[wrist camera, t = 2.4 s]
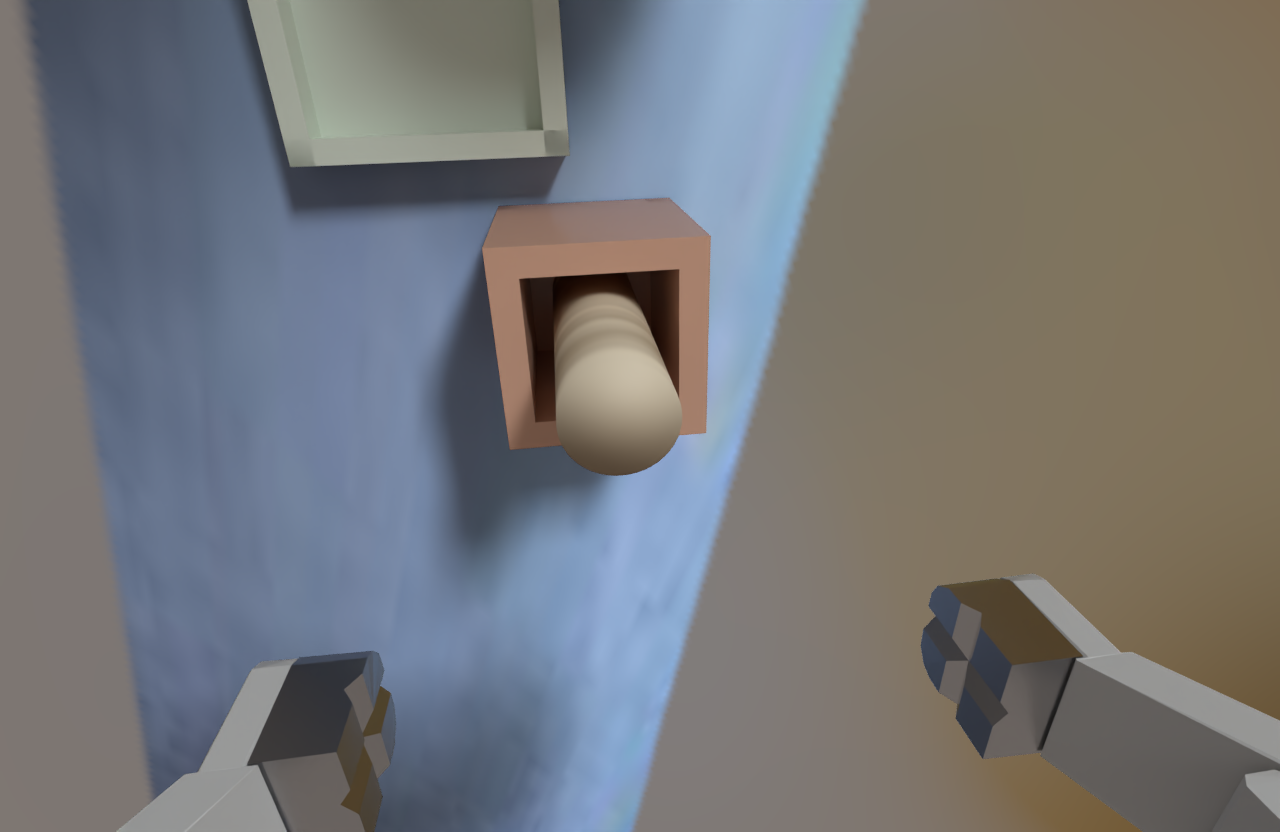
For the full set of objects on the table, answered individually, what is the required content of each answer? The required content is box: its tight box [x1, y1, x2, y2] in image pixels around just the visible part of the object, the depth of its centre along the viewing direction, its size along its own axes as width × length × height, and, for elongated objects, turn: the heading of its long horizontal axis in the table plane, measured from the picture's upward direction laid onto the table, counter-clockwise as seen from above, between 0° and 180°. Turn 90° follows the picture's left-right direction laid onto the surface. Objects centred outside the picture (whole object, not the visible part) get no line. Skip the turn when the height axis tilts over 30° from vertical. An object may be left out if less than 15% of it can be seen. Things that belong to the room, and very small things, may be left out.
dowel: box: [553, 272, 682, 476], centre depth 20 cm, size 3×3×11 cm
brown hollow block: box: [482, 198, 711, 450], centre depth 23 cm, size 6×6×7 cm
